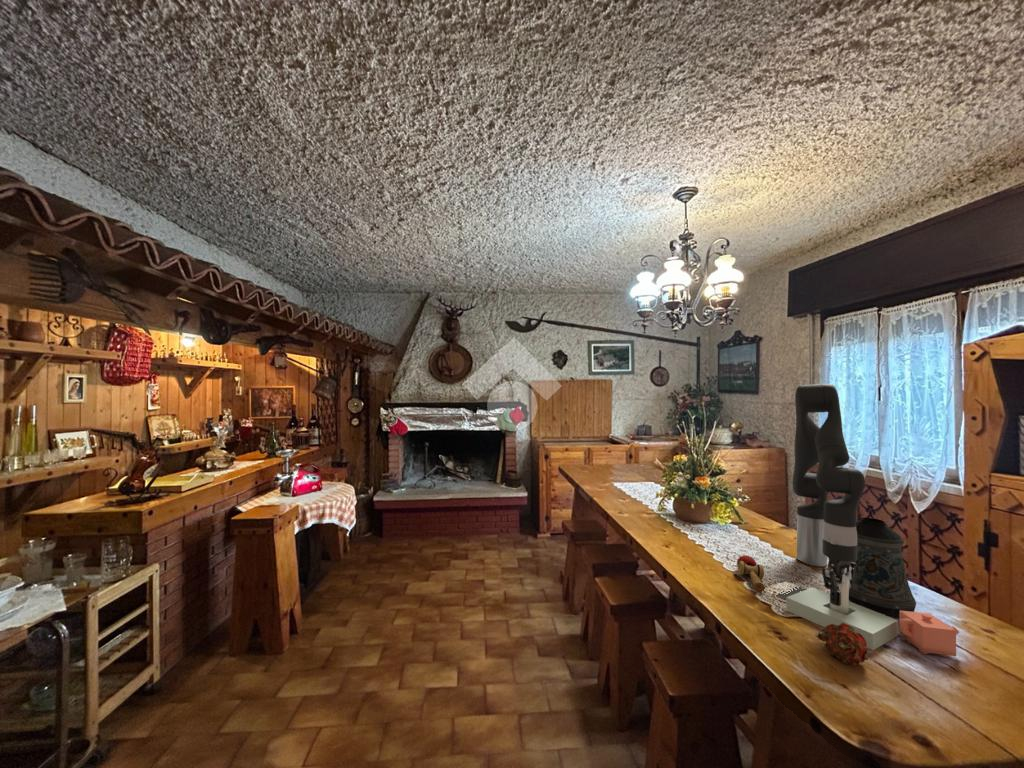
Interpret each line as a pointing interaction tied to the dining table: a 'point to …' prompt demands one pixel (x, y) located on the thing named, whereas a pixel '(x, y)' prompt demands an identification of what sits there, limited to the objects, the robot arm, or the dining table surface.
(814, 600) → the hole block
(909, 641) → the pink cube teapot
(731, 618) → the dining table surface
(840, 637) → the dried red rose
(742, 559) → the kendama
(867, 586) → the beer stein
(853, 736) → the dining table surface
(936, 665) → the dining table surface
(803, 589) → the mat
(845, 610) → the peg
